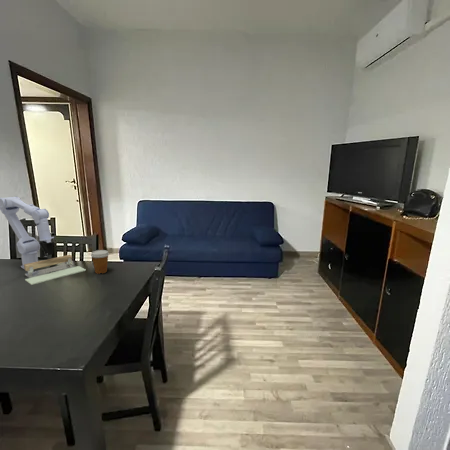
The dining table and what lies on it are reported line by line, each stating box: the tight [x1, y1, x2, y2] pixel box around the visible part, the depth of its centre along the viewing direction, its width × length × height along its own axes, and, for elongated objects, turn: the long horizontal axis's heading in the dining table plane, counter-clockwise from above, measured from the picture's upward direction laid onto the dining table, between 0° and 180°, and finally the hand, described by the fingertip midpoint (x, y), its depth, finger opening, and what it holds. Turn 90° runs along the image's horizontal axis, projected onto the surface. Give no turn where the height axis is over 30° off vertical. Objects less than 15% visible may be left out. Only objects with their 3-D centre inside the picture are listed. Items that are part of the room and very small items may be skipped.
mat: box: [24, 265, 87, 286], centre depth 159 cm, size 9×28×1 cm, turn 141°
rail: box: [23, 254, 73, 272], centre depth 164 cm, size 3×24×3 cm, turn 141°
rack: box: [24, 258, 74, 278], centre depth 164 cm, size 7×23×6 cm, turn 141°
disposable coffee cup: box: [90, 249, 110, 275], centre depth 165 cm, size 10×10×12 cm
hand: (49, 254), depth 162 cm, fingers open, 7 cm apart
